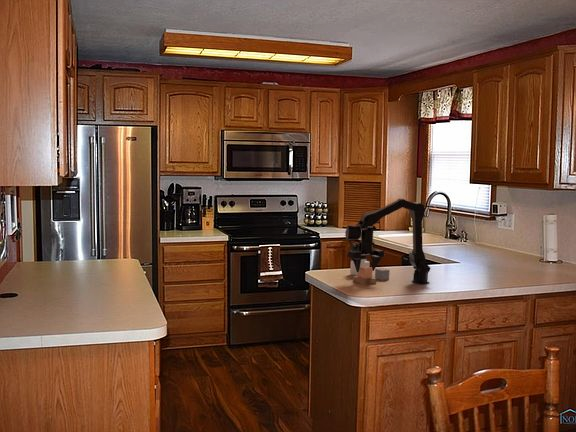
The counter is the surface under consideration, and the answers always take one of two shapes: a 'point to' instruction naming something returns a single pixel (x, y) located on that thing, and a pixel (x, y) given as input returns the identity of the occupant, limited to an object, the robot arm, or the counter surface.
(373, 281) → the walnut slab
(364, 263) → the medicine bottle
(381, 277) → the grey cube
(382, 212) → the robot arm
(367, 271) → the terracotta cube
